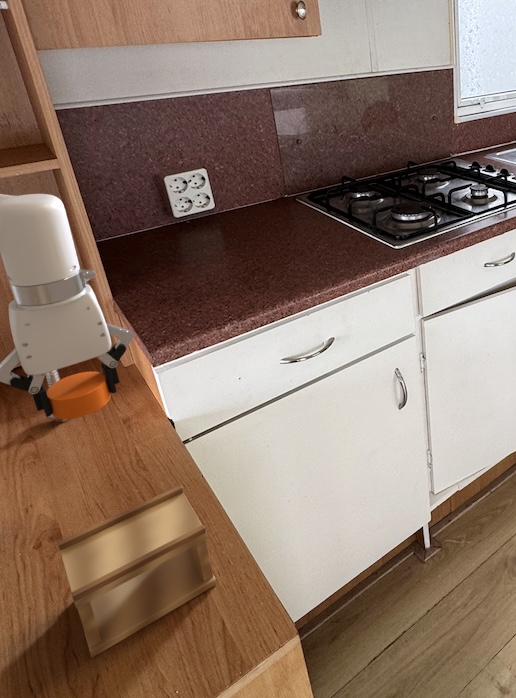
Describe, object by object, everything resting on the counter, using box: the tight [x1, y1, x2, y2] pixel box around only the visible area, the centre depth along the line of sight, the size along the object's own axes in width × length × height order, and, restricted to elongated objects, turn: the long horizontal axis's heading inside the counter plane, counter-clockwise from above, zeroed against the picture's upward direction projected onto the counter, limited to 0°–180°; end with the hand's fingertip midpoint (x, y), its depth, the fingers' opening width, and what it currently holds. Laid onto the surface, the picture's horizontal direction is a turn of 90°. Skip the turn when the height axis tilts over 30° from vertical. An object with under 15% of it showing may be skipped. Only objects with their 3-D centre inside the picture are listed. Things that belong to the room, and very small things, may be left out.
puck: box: [46, 371, 111, 420], centre depth 82 cm, size 7×7×3 cm
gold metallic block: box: [57, 484, 218, 658], centre depth 74 cm, size 14×10×10 cm
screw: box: [44, 369, 70, 423], centre depth 106 cm, size 13×5×5 cm
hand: (80, 399), depth 83 cm, fingers closed on puck, 7 cm apart
